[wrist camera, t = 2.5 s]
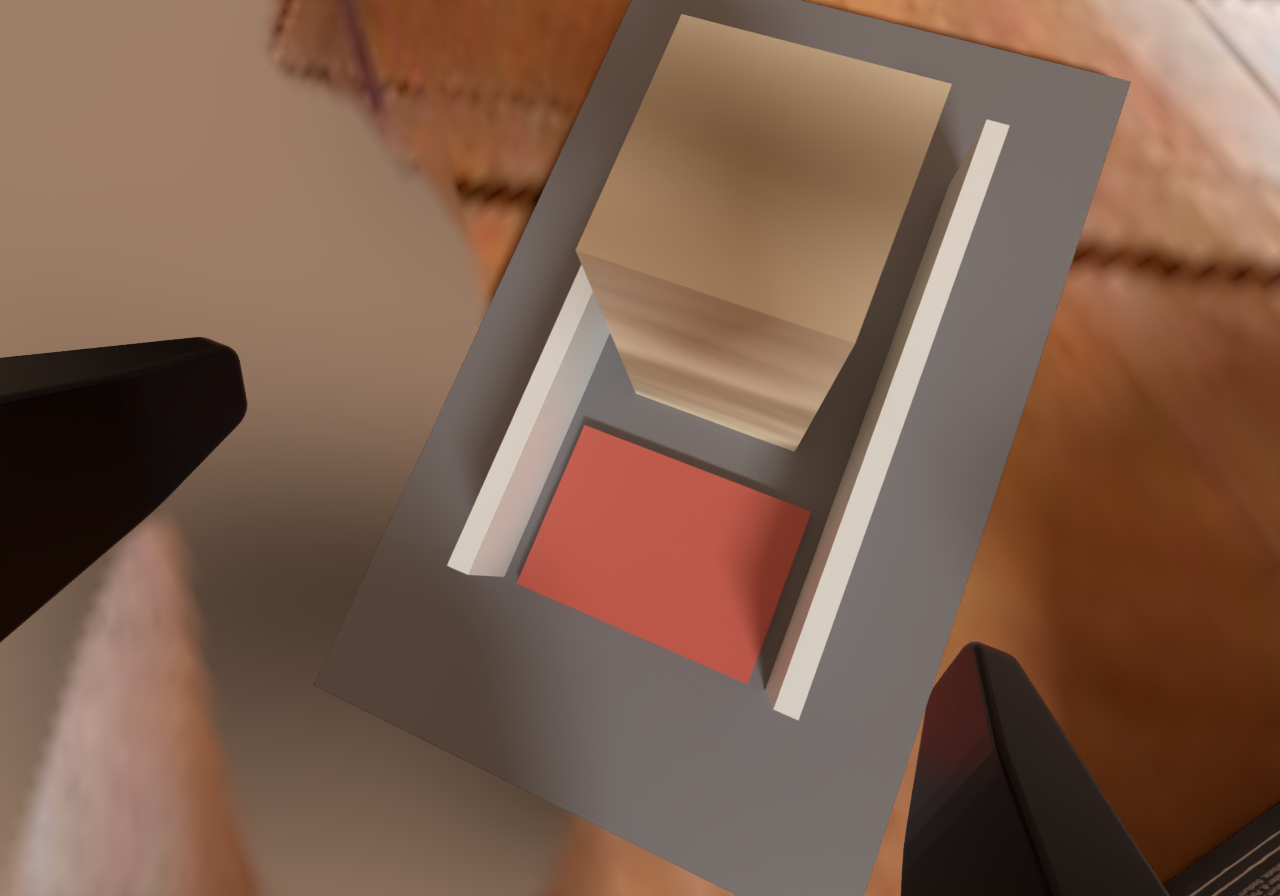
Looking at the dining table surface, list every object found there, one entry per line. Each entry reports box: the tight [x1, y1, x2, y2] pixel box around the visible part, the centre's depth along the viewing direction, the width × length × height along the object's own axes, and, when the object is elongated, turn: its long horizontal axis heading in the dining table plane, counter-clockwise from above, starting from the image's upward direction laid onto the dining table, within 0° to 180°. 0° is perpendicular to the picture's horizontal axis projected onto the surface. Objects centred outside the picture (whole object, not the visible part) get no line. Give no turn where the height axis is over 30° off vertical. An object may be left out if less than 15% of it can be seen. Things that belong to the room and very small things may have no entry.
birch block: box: [576, 14, 952, 452], centre depth 16 cm, size 5×5×9 cm
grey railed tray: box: [314, 0, 1131, 896], centre depth 19 cm, size 26×16×4 cm, turn 158°
